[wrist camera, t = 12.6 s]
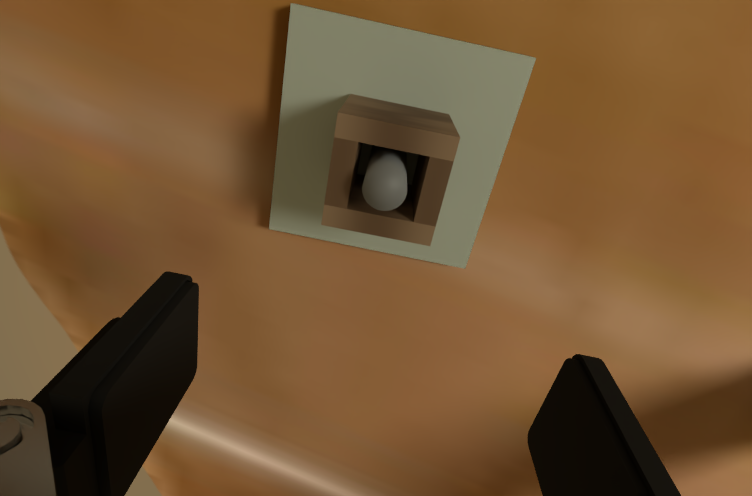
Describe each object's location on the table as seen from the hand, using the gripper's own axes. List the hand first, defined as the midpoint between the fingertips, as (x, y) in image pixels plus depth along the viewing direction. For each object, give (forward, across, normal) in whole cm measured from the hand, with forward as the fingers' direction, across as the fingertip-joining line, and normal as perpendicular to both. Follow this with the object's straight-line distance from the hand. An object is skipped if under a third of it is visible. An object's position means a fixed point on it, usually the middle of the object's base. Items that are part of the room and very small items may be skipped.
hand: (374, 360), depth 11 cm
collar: (+19, 0, 0) cm, 19 cm away
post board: (+20, 0, 0) cm, 20 cm away
